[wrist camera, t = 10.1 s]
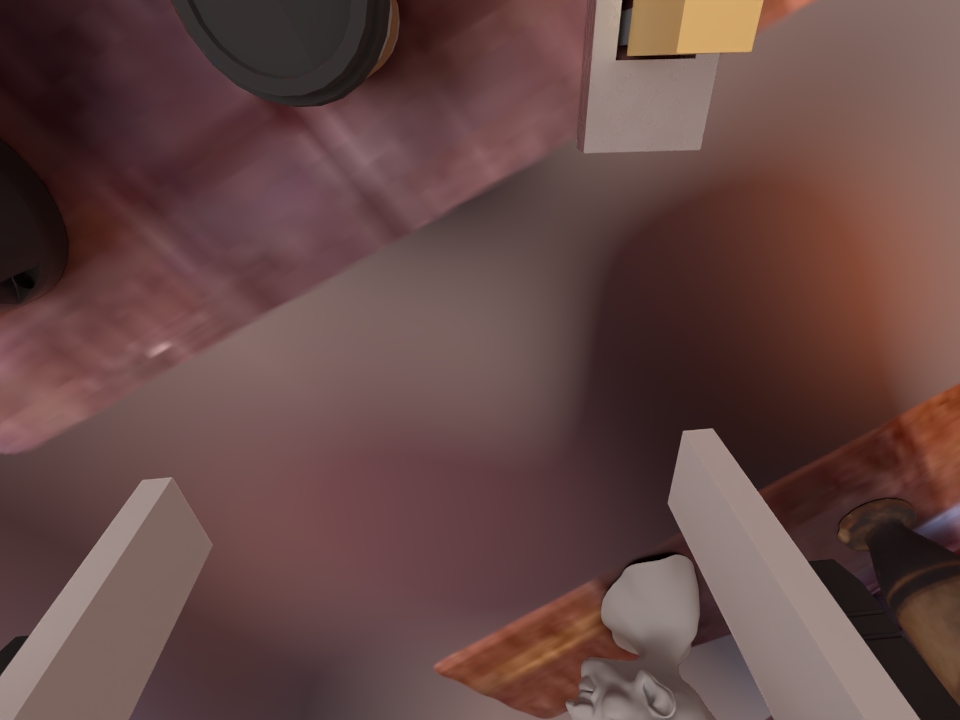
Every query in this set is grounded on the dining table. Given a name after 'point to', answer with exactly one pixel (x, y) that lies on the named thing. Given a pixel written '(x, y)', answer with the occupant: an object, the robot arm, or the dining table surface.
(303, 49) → the coffee cup
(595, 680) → the head bust
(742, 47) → the yellow block
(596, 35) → the grey slotted base plate
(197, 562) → the robot arm
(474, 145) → the dining table surface
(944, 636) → the vase
